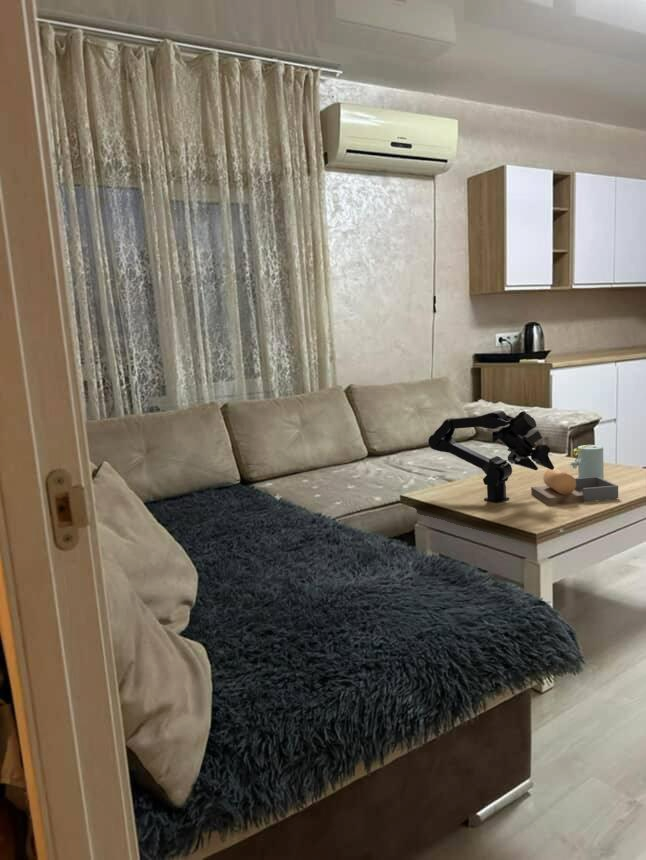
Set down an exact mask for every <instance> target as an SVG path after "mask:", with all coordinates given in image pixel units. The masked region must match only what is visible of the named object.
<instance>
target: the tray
mask: <svg viewBox="0 0 646 860" xmlns="http://www.w3.org/2000/svg"><path fill="white" fill-rule="evenodd" d="M574 479H575V481H576V488H575V491H577V492H579V493H581V494H583V495H584V502H583V503H585V502H597V501H596V500H599V501H607V500H606V499H611V500H616V499H615V498H618V499H619V485H617V484H616V483H615V484H614V483H613V482H611V481H608V480H606V479H605V478H604V479H602V478H600V477H587V478H578V477H577V478H575V477H574Z"/></svg>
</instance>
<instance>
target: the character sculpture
mask: <svg viewBox="0 0 646 860" xmlns="http://www.w3.org/2000/svg"><path fill="white" fill-rule="evenodd" d="M572 454H573V456H577V458H575V460H574V461H571V462H570V466H572V468H573V469H577V468H578V469H577V470H578V471H577V473H578V477H577V478H587V477H600V478H602V479H604V480H605V478H604V447H603V445H597V444H585V445H583V444H582V445H579V446H578V447H577V448H574V449H573V451H572Z"/></svg>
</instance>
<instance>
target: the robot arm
mask: <svg viewBox="0 0 646 860" xmlns="http://www.w3.org/2000/svg"><path fill="white" fill-rule="evenodd" d="M477 427H478V428H484V429H489V430H496V429H499V430H496V431H492V432H491V433H492V434H491V436H492V443H495V442H496V441H498V440H499V442H501V443H502V444H503V445H505V447H507V451H508V452H509V454H508V455H507V459H504V458H502V457H500V456H499V455H496V456H494V457H491V458H489V457H487V456H485V455H483V454H481V453H479V452H477V451H475V450H472V449H471V448H468V447H467V446H464V445H463V444H461V443H458V442H457V441H456V440H455V438H454V435H455V434H454V433H455V431H456V430H457V429H458V430H459V429H467V428H468V429H469V428H477ZM536 427H537V422H536V420H535V418H534V417H533V416H532V415H530V414H529V413H527V412H526V411H525V410H522V411H521V412H519V413H518V414H517V415H516V416H515V417H514V416H511V415H507V413H505V411H503V410H500V409H499V410H496V411H493V412H489V413H485V414H483V415H477V416H475V415H473V416H465V417H451V418H447V419H445V420H444V421H443V422H442V424H441V425H440V426H439V427H438V428H437V429H436V430H435V431H434V432H433V434H432V435H430V436H429V438H428V445H429V448H430V449H432V450H434V451H437V452H442V453H449V454H451V455H453V456H455V457H457V458H458V459H461V460H463V461H465V462H466V463H469V464H471V465H473V466H475V467H477V468H479V469H481V470H482V472H483V473H485V476H484V477H483V478H482V481H483V484H484V485H485V486H486V489H487V490H486V492H487V493H486V494H487V497H484V498H483V500H484V501H487V502H494V503H497V504H498V503H502V502H505V501H508V500H510V497H508V496H507V487H506V486H507V485H506V482H508V480H509V477H511V475H512V473H513V467H512V465H513V464H514V465H517V466H520V467H524V468H527V469H530V470H533V471H537V470H539V467H538V466H537V465H539V466H540V467H543V468H546V469H547V470H548V469H551V470H553V469H554V468H555V466H554V465H553V462H552V461H551V458H550V457H549V453H550V452H551V447H550V446H549V445H548V444H546V443H545V444H538V445H536V443H537V442H538V441H539V440H543V436H542V434H541V432H540V430H538V429H535V428H536ZM534 429H535V430H534ZM534 447H535V448H534ZM511 464H512V465H511ZM536 464H537V465H536Z"/></svg>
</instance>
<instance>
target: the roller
mask: <svg viewBox="0 0 646 860" xmlns="http://www.w3.org/2000/svg"><path fill="white" fill-rule="evenodd" d="M542 478H543V483H544V485H545V486H549V487H550V488H552V489H554V490H556V491H557V492H559V493H561V494H564V495H567V494H570V493H572V492H573V491H574V490H575V488H576V481H575V477H574V476H572V475H571V474H568V473H567V472H565V471H563V470H560V469H558V468H556V467H554V469H553V470H551V469H548V468H547V469H546V471H545V472H544V473H543V477H542Z"/></svg>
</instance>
